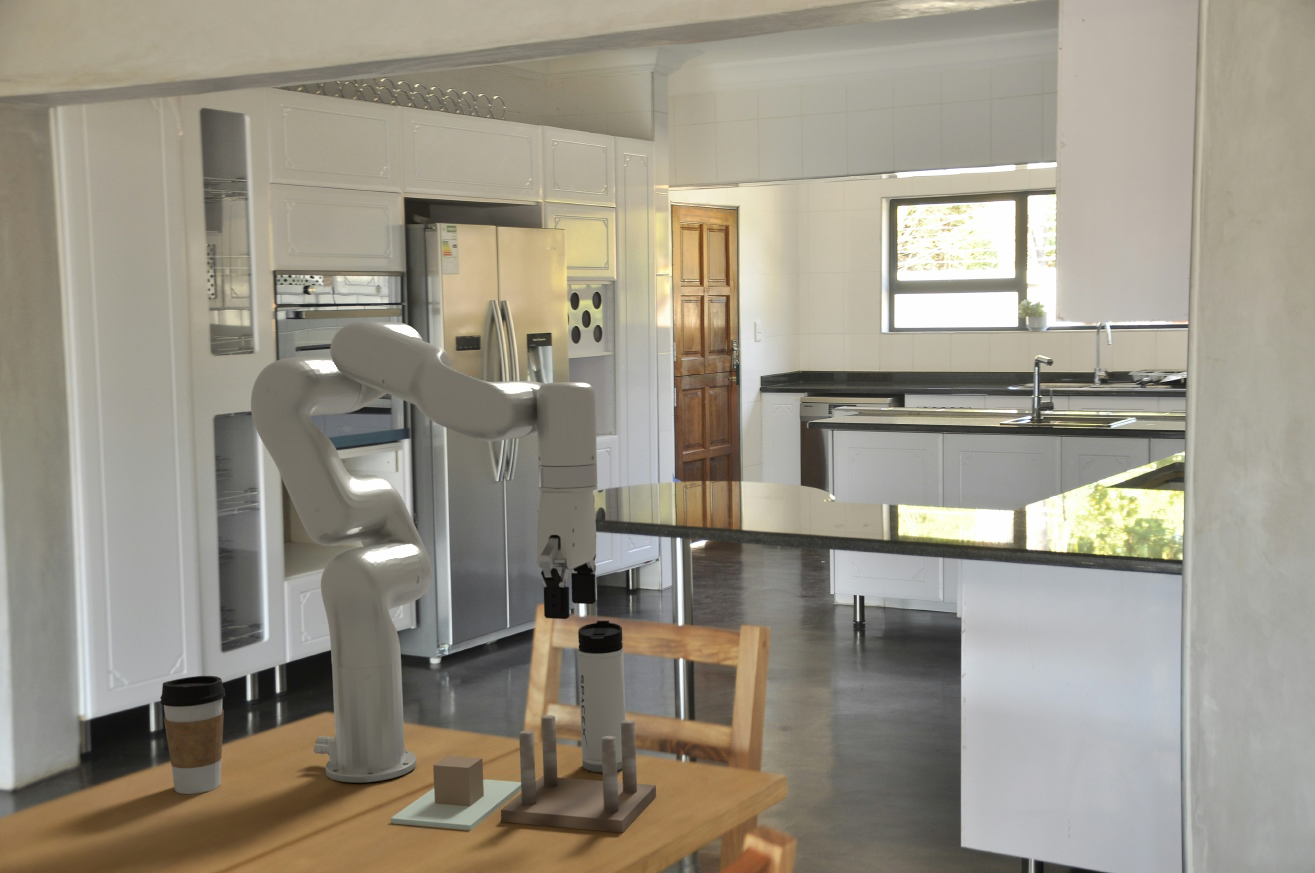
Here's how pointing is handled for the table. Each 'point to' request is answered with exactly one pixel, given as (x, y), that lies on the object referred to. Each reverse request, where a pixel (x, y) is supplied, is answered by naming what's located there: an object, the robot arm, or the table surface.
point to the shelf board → (457, 812)
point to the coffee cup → (194, 731)
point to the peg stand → (579, 787)
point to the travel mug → (601, 690)
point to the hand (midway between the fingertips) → (570, 610)
